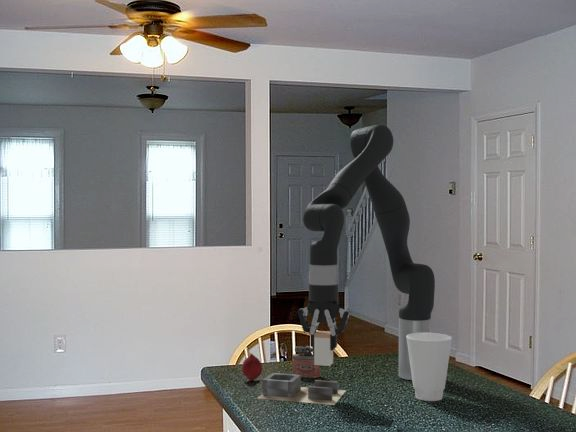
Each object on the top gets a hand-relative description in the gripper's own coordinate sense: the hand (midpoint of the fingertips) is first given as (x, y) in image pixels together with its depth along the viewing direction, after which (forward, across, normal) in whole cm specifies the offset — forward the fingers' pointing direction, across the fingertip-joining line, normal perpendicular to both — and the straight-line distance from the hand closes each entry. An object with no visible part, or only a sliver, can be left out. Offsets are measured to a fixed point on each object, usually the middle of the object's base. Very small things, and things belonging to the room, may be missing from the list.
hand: (323, 349), depth 180 cm
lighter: (+14, +10, -19) cm, 25 cm away
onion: (+14, +25, -15) cm, 32 cm away
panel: (+14, +6, 0) cm, 15 cm away
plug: (+4, 0, 0) cm, 4 cm away
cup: (+14, -25, -12) cm, 31 cm away
